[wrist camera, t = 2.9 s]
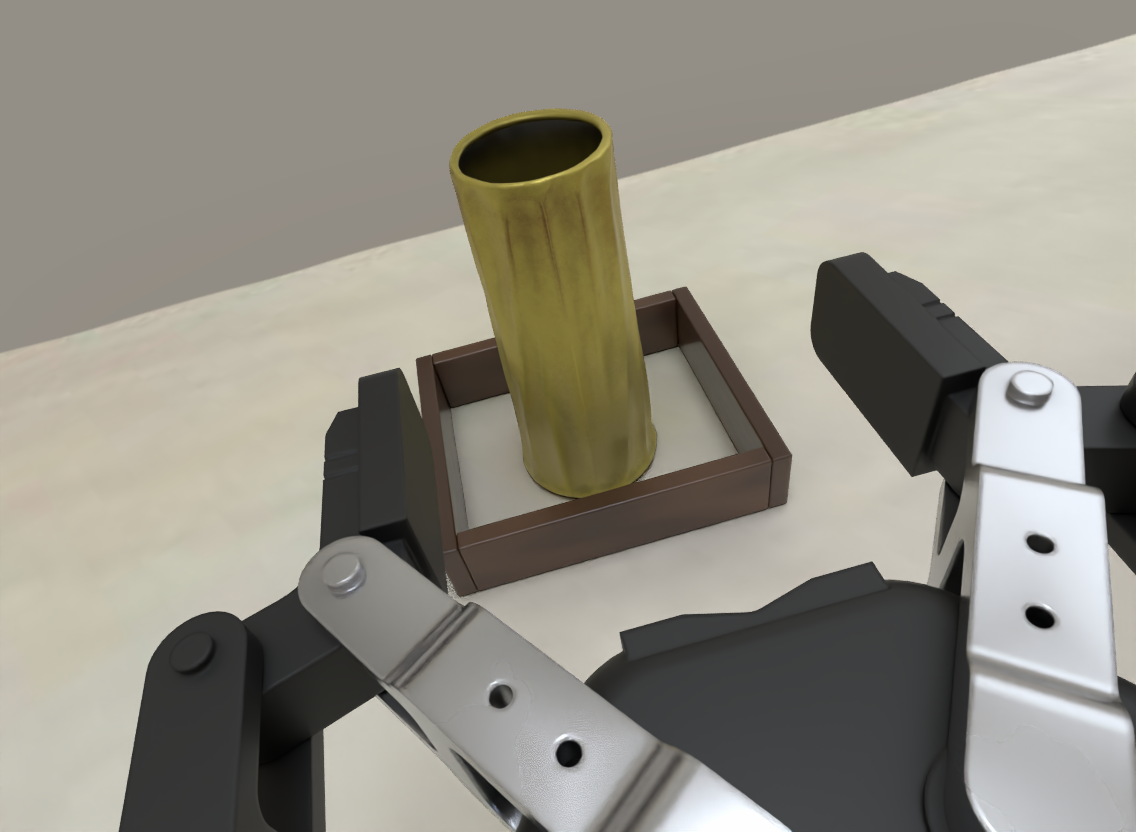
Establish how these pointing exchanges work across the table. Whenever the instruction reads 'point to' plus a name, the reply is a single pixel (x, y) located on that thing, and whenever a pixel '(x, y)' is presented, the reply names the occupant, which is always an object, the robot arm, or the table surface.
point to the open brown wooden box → (615, 512)
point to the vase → (559, 294)
